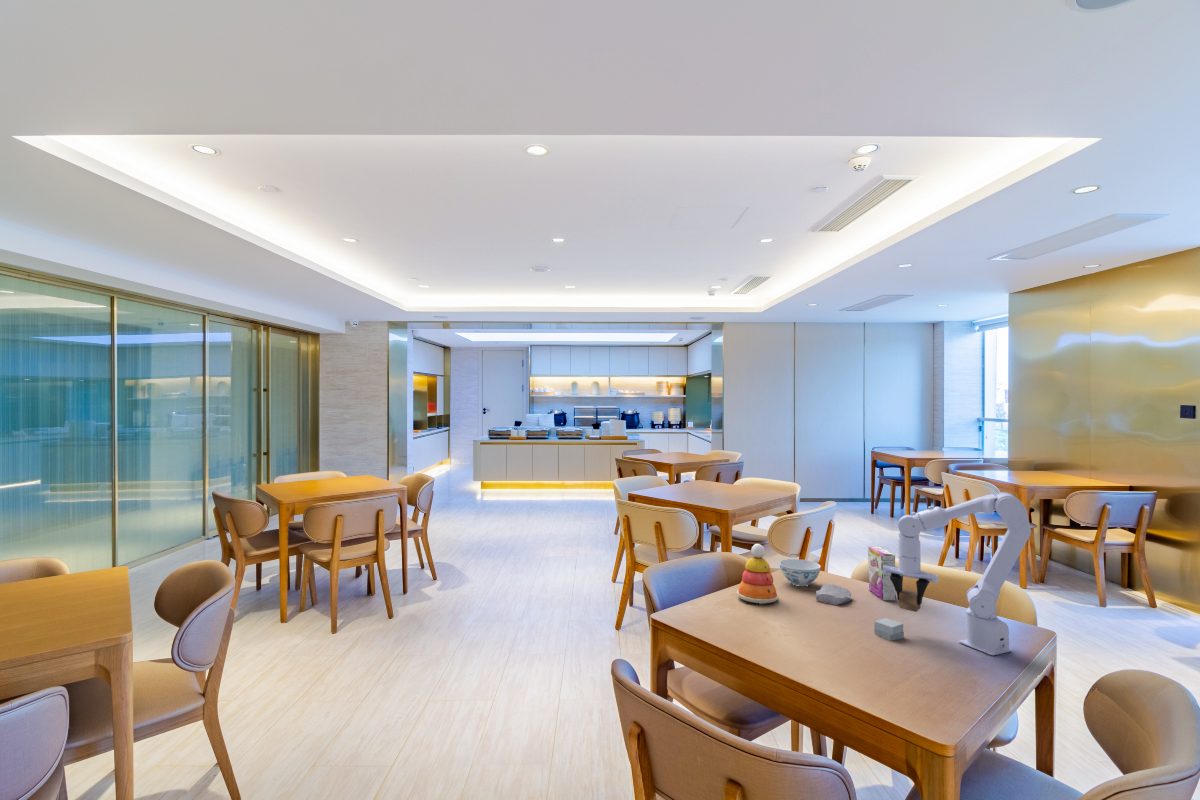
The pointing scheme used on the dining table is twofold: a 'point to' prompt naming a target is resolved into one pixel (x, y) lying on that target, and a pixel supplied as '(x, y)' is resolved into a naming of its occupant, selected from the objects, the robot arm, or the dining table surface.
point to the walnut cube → (908, 600)
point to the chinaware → (800, 571)
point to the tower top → (888, 626)
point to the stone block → (833, 594)
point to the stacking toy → (757, 579)
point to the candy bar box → (881, 573)
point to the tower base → (889, 635)
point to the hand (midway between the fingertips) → (909, 601)
